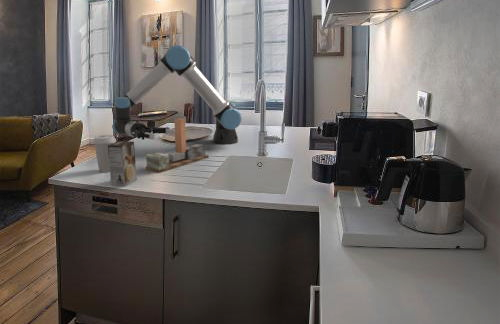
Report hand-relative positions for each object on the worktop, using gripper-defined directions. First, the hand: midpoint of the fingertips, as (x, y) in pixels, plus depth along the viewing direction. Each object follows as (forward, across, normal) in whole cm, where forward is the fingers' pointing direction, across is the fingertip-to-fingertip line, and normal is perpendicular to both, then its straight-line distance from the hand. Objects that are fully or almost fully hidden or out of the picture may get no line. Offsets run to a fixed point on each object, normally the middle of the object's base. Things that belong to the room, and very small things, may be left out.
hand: (165, 134), depth 182 cm
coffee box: (+13, +35, -13) cm, 40 cm away
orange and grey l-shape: (+10, -3, -10) cm, 14 cm away
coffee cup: (-7, +29, -13) cm, 32 cm away
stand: (+10, +1, -12) cm, 16 cm away
